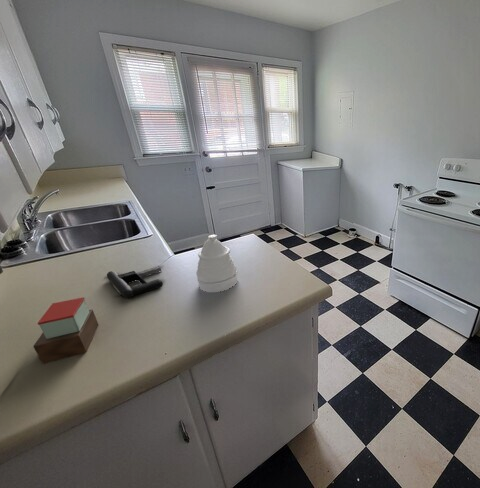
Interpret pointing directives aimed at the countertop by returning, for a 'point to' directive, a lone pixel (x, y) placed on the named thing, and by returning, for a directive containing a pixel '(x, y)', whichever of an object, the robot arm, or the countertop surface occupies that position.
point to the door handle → (125, 278)
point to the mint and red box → (64, 317)
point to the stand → (67, 342)
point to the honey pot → (215, 267)
